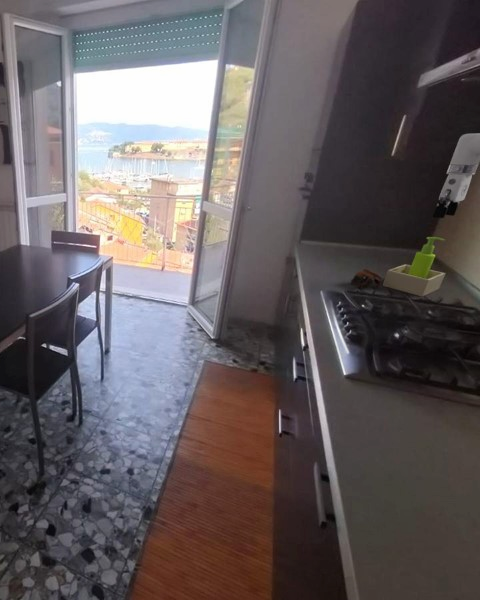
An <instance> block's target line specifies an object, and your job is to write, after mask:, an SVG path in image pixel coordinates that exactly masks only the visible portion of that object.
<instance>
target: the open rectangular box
mask: <svg viewBox="0 0 480 600" xmlns="http://www.w3.org/2000/svg"><path fill="white" fill-rule="evenodd" d="M411 265H412V264H411ZM411 265H410V264H405V263H404V264H402V265H399V266H396V267H393V268H390V269H388V270H387V272H386V274H385V277H384V280H383V283H382V286H383V287H386V288H388V289H389V288H390V289H394V290H397V291H400V292H404V293H408V294H412V295H415V296H419V297H424V296H427V295H428V294H430V293H434V292H435V291H438V290H439V289H440V287H441V285H442V283H443V280H444V279H445V276H446V272H443V271H442V272H441V271H436V270H433V269H430V270H429V272H428V275H427V277H426V279H424V278H420V277H416V276H412V275H408V273H409V270H410V268H411Z"/></svg>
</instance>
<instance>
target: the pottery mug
mask: <svg viewBox="0 0 480 600" xmlns="http://www.w3.org/2000/svg"><path fill="white" fill-rule="evenodd" d="M382 279H383V277H381V276H380V275H379V274H377V273H376V272H374V271H372V270H370V269H367V268H364V269H363V270H360V271H358V272H356V273H355V275H354V276H353V278H352V279H350V282H349V284H350V285H352V286H353V287H355V288H357V289H359V288H360V286H361V287H363V288H364V289H365V288H366V289H367V288H369V287H370V286H371V285H372V284H373V283H375V284H376V285H375V288H376V289H377V288H379V286H380V285H381V280H382Z"/></svg>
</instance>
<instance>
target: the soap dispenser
mask: <svg viewBox="0 0 480 600" xmlns="http://www.w3.org/2000/svg"><path fill="white" fill-rule="evenodd" d="M426 239H427V243H425V244H423V246H422V248H421V251H416V253H415V255H414V258H413V260H412V263H411V268H410V270H409V273H408V275H412V276H416V277H420V278H424V279H426V277H427V275H428V272H429V270H431V267H432V266H433V262H434V260H435V258H436V254H434V253H433V252H434V250H435V248H436V247H435V245H434V242H435V241H442V242H445V241H446V239H445V238H442V237H436V236H427V237H426Z"/></svg>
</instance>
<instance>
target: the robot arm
mask: <svg viewBox="0 0 480 600" xmlns="http://www.w3.org/2000/svg"><path fill="white" fill-rule="evenodd" d="M479 165H480V132H479V133H464V134H462V135H461V136H460V137H459V139H458V141H457V144H456V147H455V150H454V152H453V154H452V157H451V160H450V163H449V165H448V167H447V171H446V174H445V175H447V177H446V179H445V181H444V184H443V186H442V189H441V190H440V193H439V198H438V201H437V204H436V207H435V209H434V212H433V215H432V218H436V219H445V217H446V216H450V217H451V216H456V213H457V211H458V209H459V206H460V202H462V201H464V200H465V199H466V196H467V193H468V190H469V187H470V184H471V181H472V177H473V176H474V175H475V174H476V172H477V169H478V167H479Z"/></svg>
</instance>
